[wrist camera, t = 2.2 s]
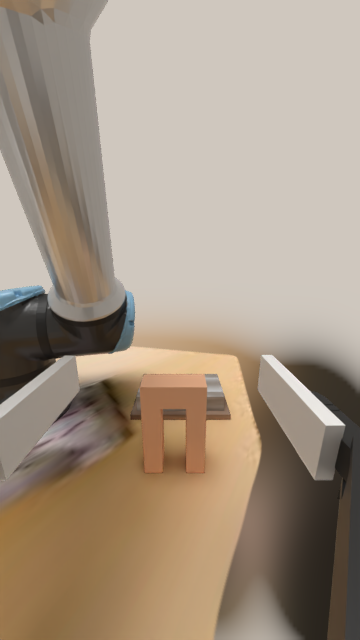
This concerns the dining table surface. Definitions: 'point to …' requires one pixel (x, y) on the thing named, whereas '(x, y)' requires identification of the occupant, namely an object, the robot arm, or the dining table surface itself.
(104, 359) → the dining table surface
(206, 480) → the dining table surface
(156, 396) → the tan arch block
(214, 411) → the grey socket block
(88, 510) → the dining table surface
